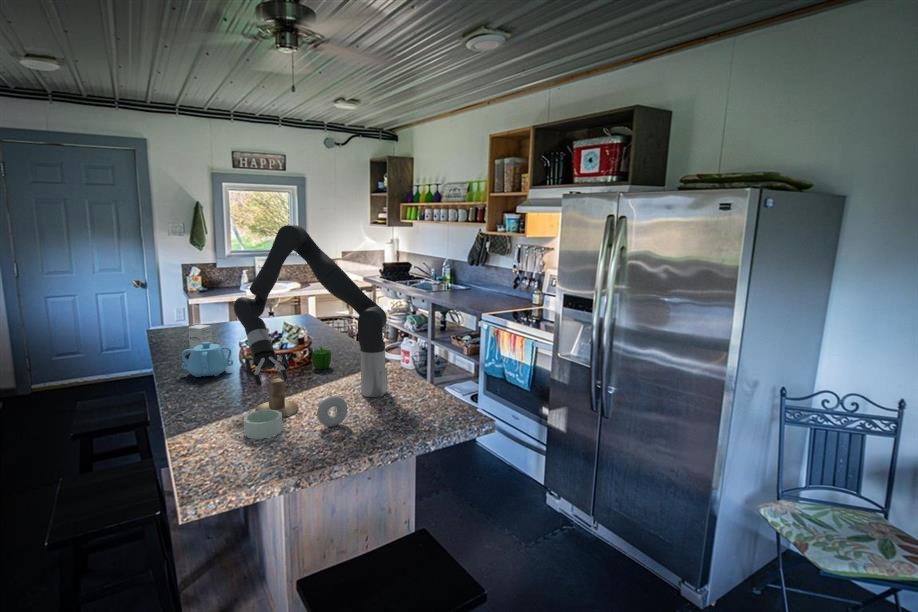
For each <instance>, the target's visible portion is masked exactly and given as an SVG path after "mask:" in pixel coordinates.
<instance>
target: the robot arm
mask: <svg viewBox="0 0 918 612" xmlns="http://www.w3.org/2000/svg"><path fill="white" fill-rule="evenodd" d="M293 251H294V252H295V253H296V254H297V255H298V256H299V257H301V258H302V259H303V260H304V261H305V262H306V264H307V265H308V266H309V268H310V270H311V272H312V274H313V275H314V277H315V278H316V279H317V281H318V282H319V283H320V284H321V285H322V287H323V288H325V290H326V291H327V292H328V293H330V294H331V295H332V296H333V297H334V298H336V299H338V300H340V301H342V302H343V303H345V304H347V305H349V306H350V307H351V308H352V310H354V311H355V312H356V313H357V315H358V318H357V336H358V344H359V347H360V351H359V353H360V390H361V391H360V394H361V396H362V397H367V398H381V397H383V396H384V395H385V394H386V393H388V368H387V367H386V343H385V341H384V333H383V332H384V331H383V330H384V329H383V328H384V327H385V326H386V323H387V321H388V317H387V313H386V312H385V310H384V309H383V308H382V307H381V306H379V305H378V304H377V303H376V302H374V301H373V299H371V298H370V297H369V296H368V295H367V294H365V293H364V291H363V290H362V289H361V288H360V287H359V286H358V285H357V284H356V283H355V281H354V280H353V279H352V278H350V277H349V275H348V274H347V273H346V272H345V271H344V270H343V269H342V268H341V267H340V265H338V264H337V263H336V262H335V261H334V260H333V259H332V258H331V257H330V256H328V254H326V253H325V252H324V251H323V250H322V249H321V248H320V247H319V245H318V244H317V243H316V242H315V241H314V239H313V238H312V237H311V236H310V234H309V233H308V232H307V231H306V229H304V228H303V227H302V226H300V225H296V224H286V225H282V226H281V227H280V228H279V229H278V231H277V233H276V236H275V237H274V240H273V243H272V245H271V248H270V251H269V252H268V255H267V256H266V258H265V261H264V263H263V265H262V267H261V268H260V270H259V272H258V274H256V277H254V279H253V281H252V283H251V284H250V286H249V291H250V293H251V294H252V295H254V298H250V297H245V296H241V297H238V298H236V300H235V301H234V304H233V311H234V315H235V316H236V318H237V319H238V320H239V322H240V324H241V325H242V327H243V328H244V330H245V334H246V339H247V345H248V347H249V349H250V351H249V352H250V354H251V356H252V359H250V360H249V359H245V361H244V369H245V373H246V377H247V378H249V379H250V378H253V379H254V380H253V381H254V384H255V386H257V387H258V388H260V387H262V381H261V378H260V377H261V376H260V375H259V374H260V371H263V372H264V371H266V370H275V371H277V372H278V373H280V378H281V379H282V380H284V383H286V382H287V381H288V376H287V372H288V371H289V368H290V363H289V361H288V359H287V357H286V354H285V353H281V355H276V353H275V350H274V346H273V343H272V340H271V338H270V334H269V333H268V330H267V328H266V325H265V321H264V320H263V319H262V318H260V317H261V316H262V315H263V313H264V311H265V308H266V305H267V301H268V297H269V295H270V293H271V292H272V290H273V289H274V287H275V285H276V283H277V282H278V279H279V276H280V274H281V271H282V270H281V269H282V267H283V265H284V263H285V261H286V260H287V259H288V257H289V256H290V255H291V253H293ZM281 364H282V365H281ZM253 365H254V366H255V367H256V368H255V370H254V371H252V366H253Z"/></svg>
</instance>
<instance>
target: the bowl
mask: <svg viewBox="0 0 918 612" xmlns="http://www.w3.org/2000/svg"><path fill="white" fill-rule="evenodd" d="M243 431H244V433H243V435H245V436H244V437H246V436H247V437H246V438H248V439H249V438H254V439H253V440H264V439H263V438H267V439H270V438H269V437H271V438H273V437H272V436H274V435H277V434H278V435H280V434H281V433H282V432H283V418H282V413H281V412H279V411H278V410H270V409H267V410H258V411H255V410H254V411H251V412H249V413H248V414H246V415H244V416H243ZM281 431H282V432H281ZM280 432H281V433H280ZM279 433H280V434H279ZM278 435H277V436H278ZM274 437H275V436H274Z"/></svg>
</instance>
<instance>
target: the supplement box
mask: <svg viewBox="0 0 918 612" xmlns="http://www.w3.org/2000/svg"><path fill="white" fill-rule="evenodd" d="M212 327H213V326H212V325H209V324H207V325H206V324H200V323H199V324H196V325H191V326H189V327H188V340H189V349H193V348H194V347H195V346H197V345H202V343H203V342H211V343H210V344H214V342H213V328H212Z"/></svg>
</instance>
